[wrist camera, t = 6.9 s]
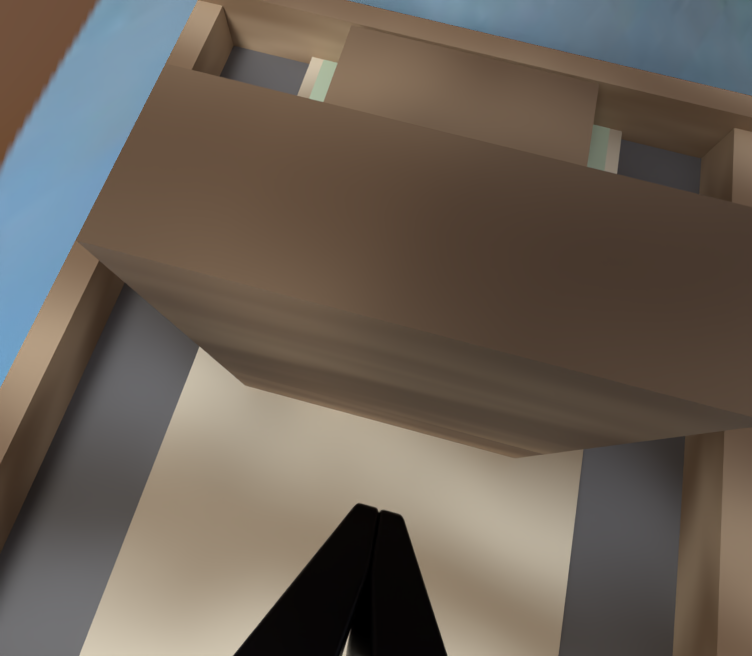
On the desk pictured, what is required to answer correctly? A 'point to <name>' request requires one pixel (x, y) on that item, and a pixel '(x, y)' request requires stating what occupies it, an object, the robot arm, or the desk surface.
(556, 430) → the bookend
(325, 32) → the wooden rectangular frame
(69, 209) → the desk surface
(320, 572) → the robot arm
